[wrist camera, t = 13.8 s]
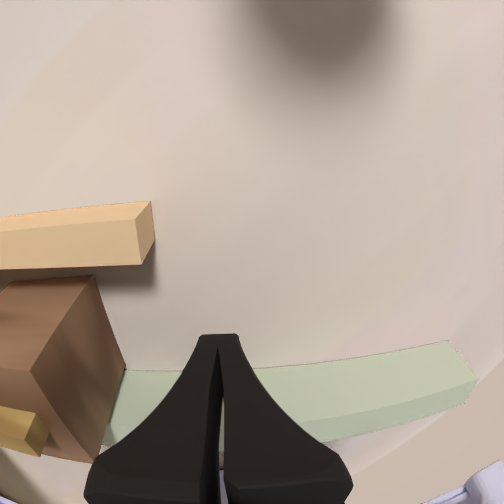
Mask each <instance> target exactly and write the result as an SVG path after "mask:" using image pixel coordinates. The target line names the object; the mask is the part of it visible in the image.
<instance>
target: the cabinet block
mask: <svg viewBox="0 0 504 504" xmlns="http://www.w3.org/2000/svg"><path fill="white" fill-rule="evenodd" d="M124 367H125V362H124V359H123V357H122V354H121V352H120V349H119V347H118V344H117V342H116V339H115V336H114V334H113V331H112V328H111V325H110V323H109V320H108V317H107V314H106V311H105V308H104V305H103V302H102V299H101V296H100V293H99V290H98V287H97V284H96V281H95V277H94V275H84V276H74V277H63V278H52V279H41V280H30V281H19V282H11V283H10V284H9V285H8V286H7V287H6V288H5V289H4V290H3V291H2V292H1V293H0V446H2V447H5V448H8V449H12V450H15V451H18V452H22V453H25V454H29V455H33V456H37V457H40V456H41V454H44V455H48V456H53V457H57V458H62V459H67V460H73V461H78V462H84V463H91V464H93V462H94V459H95V457H97V456H98V455H99V452H100V448H101V444H102V440H103V437H104V433H105V430H106V426H107V423H108V419H109V416H110V412H111V409H112V405H113V402H114V399H115V396H116V392H117V389H118V386H119V383H120V380H121V376H122V373H123V370H124Z"/></svg>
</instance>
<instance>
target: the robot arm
mask: <svg viewBox="0 0 504 504" xmlns="http://www.w3.org/2000/svg"><path fill="white" fill-rule="evenodd" d="M222 401H224V470H219V439H220V426H221V414H222ZM352 488H353V482H352V478H351V476H350V474H349V472H348V470H347V468H346V466H345V464H344V462H343V461H342V459H341V458H340V456H339V455H338V454H337V453H336V452H334V451H333V450H331V449H329V448H328V447H326V446H325V445H323V444H322V443H320V442H319V441H318V440H316V439H315V438H314V437H312V436H311V435H310V434H309V433H307V432H306V431H305V430H304V429H303V428H301V427H300V426H299V425H298V424H297V423H296V422H295V421H294V420H293V419H292V418H290V417H289V416H288V415H287V414H286V413H285V412H284V411H283V409H282V408H281V407H280V406H279V405H278V404H277V403H276V402H275V400H274V399H273V398H272V397H271V396H270V394H269V393H268V392H267V390H266V389H265V388H264V386H263V385H262V383H261V382H260V381H259V379H258V377H257V376H256V374H255V373H254V371H253V369H252V367H251V366H250V364H249V362H248V360H247V358H246V356H245V354H244V352H243V349H242V347H241V344H240V341H239V337H238V335H237V334H206V335H201V336H200V337H199V340H198V342H197V345H196V347H195V349H194V351H193V353H192V355H191V357H190V359H189V361H188V363H187V364H186V366H185V368H184V370H183V371H182V373H181V375H180V376H179V378H178V379H177V381H176V382H175V384H174V385H173V387H172V388H171V389H170V391H169V392H168V393H167V395H166V396H165V397H164V399H163V400H162V401H161V402H160V403H159V405H158V406H157V407H156V408H155V409H154V410H153V411H152V412H151V413H150V414H149V415H148V417H147V418H146V419H145V420H144V421H143V422H142V423H140V424H139V425H138V426H137V427H136V428H135V429H134V430H132V431H131V432H130V433H129V434H128V435H127V436H125V437H124V438H123V439H122V440H120V441H119V442H118V443H116V444H115V445H113V446H112V447H110V448H109V449H107V450H106V451H104V452H103V453H101V454H100V455H98V456H97V457H95V459H94V462H93V464H92V466H91V469H90V471H89V474H88V477H87V481H86V485H85V490H84V498H85V499H86V501H87V502H88V503H89V504H345V503H344V501H345V500H346V498H347V496H348V495H349V494H350V492H351V490H352ZM0 504H18V503H15V502H13V501H11V500H8V499H6V498H4V497H2V496H0ZM422 504H504V464H503V463H502V461H501V460H497V461H495V462H494V463H492V464H490V465H489V466H487V467H485V468H483V469H481V470H480V471H478V472H476V473H475V474H474V475H473V476H471V477H470V478H469V479H468V480H467V481H466V483H465V484H464V485H462V486H460V487H458V488H456V489H454V490H452V491H450V492H447V493H445V494H443V495H441V496H439V497H436V498H434V499H432V500H429V501H427V502H424V503H422Z"/></svg>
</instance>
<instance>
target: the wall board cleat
mask: <svg viewBox="0 0 504 504" xmlns="http://www.w3.org/2000/svg"><path fill="white" fill-rule="evenodd" d="M154 240H155V236H154V228H153V219H152V210H151V201H146V202H134V203H122V204H111V205H100V206H90V207H80V208H71V209H62V210H53V211H45V212H37V213H30V214H22V215H15V216H8V217H1V218H0V269H30V268H60V267H88V266H115V265H141V264H142V263H143V261H144V259H145V257H146V255H147V253H148V252H149V250H150V248H151V246H152V244H153V242H154ZM253 371H254V373H255V374H256V376H257V377H258V379H259V381H260V382H261V383H262V385H263V386H264V388H265V389H266V390H267V392H268V393H269V394H270V396H271V397H272V398H273V399H274V400H275V402H276V403H277V404H278V405H279V406H280V407H281V408H282V409H283V411H284V412H285V413H286V414H287V415H288V416H289V417H290V418H292V419H293V420H294V421H295V422H296V423H297V424H298V425H299V426H300V427H301V428H303V429H304V430H305V431H306V432H307V433H309V434H310V435H311V436H312V437H314V438H315V439H316V440H318V441H319V442H326V441H332V440H338V439H343V438H348V437H353V436H358V435H362V434H367V433H371V432H375V431H379V430H383V429H387V428H391V427H395V426H398V425H402V424H405V423H409V422H412V421H416V420H419V419H422V418H425V417H428V416H431V415H434V414H437V413H440V412H443V411H446V410H449V409H451V408H454V407H457V406H459V405H462V404H465V402H466V400H467V399H468V397H469V395H470V393H471V392H472V390H473V388H474V386H475V384H476V383H477V381H478V379H479V378H478V377H477V375H476V374H475V373H474V371H473V370H472V369H471V368H470V366H469V365H468V364H467V363H466V361H465V360H464V359H463V358H462V356H461V355H460V354H459V353H458V351H457V350H456V349H455V348H454V347H453V345H452V344H451V343H450V342H449V341H448V340H446V341H442V342H438V343H433V344H429V345H424V346H420V347H415V348H410V349H405V350H400V351H394V352H389V353H383V354H378V355H372V356H366V357H359V358H353V359H346V360H339V361H331V362H323V363H315V364H306V365H296V366H286V367H274V368H261V369H253ZM181 373H182V371H130V370H123V373H122V376H121V380H120V383H119V386H118V389H117V392H116V396H115V399H114V402H113V405H112V409H111V412H110V416H109V419H108V423H107V426H106V430H105V433H104V437H103V440H102V444H101V445H106V446H113V445H115V444H116V443H118V442H119V441H120V440H122V439H123V438H124V437H125V436H127V435H128V434H129V433H130V432H131V431H132V430H134V429H135V428H136V427H137V426H138V425H139V424H140V423H142V422H143V421H144V420H145V419H146V418H147V417H148V415H149V414H150V413H151V412H152V411H153V410H154V409H155V408H156V407H157V406H158V405H159V403H160V402H161V401H162V400H163V399H164V397H165V396H166V395H167V393H168V392H169V391H170V389H171V388H172V387H173V385H174V384H175V382H176V381H177V379H178V378H179V376H180V375H181ZM219 452H224V401H222V414H221V426H220V439H219Z"/></svg>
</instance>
